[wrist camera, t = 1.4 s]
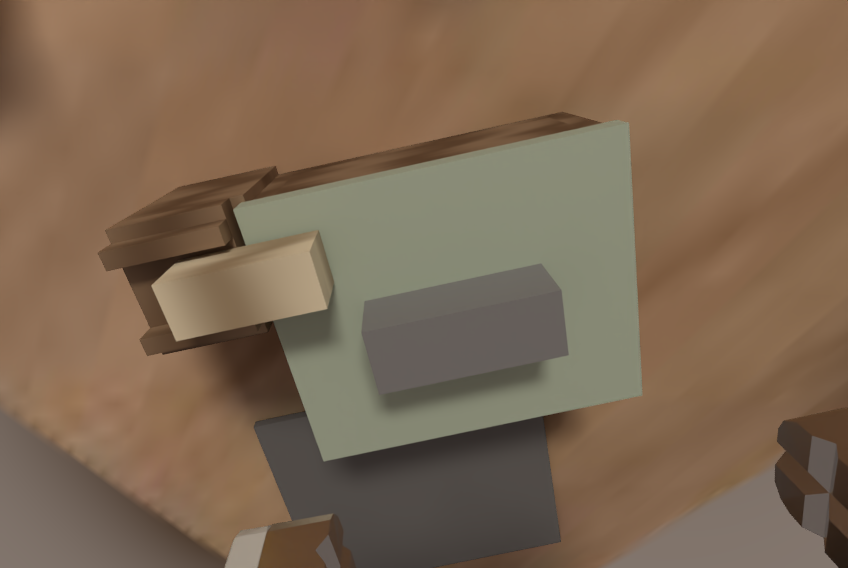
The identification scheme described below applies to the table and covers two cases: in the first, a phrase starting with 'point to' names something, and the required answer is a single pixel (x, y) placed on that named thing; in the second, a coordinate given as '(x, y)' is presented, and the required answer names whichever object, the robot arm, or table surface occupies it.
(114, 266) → the walnut box
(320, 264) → the beech bolt
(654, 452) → the table surface
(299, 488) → the rubber mat
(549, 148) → the lid
